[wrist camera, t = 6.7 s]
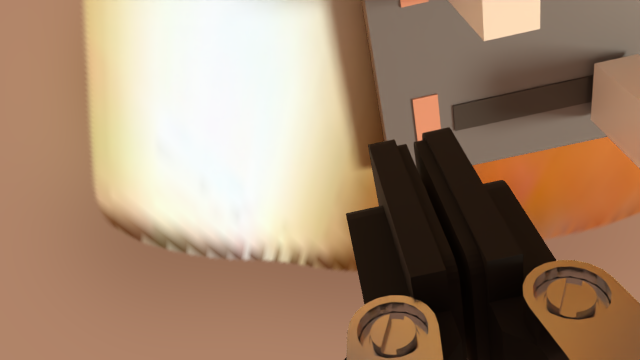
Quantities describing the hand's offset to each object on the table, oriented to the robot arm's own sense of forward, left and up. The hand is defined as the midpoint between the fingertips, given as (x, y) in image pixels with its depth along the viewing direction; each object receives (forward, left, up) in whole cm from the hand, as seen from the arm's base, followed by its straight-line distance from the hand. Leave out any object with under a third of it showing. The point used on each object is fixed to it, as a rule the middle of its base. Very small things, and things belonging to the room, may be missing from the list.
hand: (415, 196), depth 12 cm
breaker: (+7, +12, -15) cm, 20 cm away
